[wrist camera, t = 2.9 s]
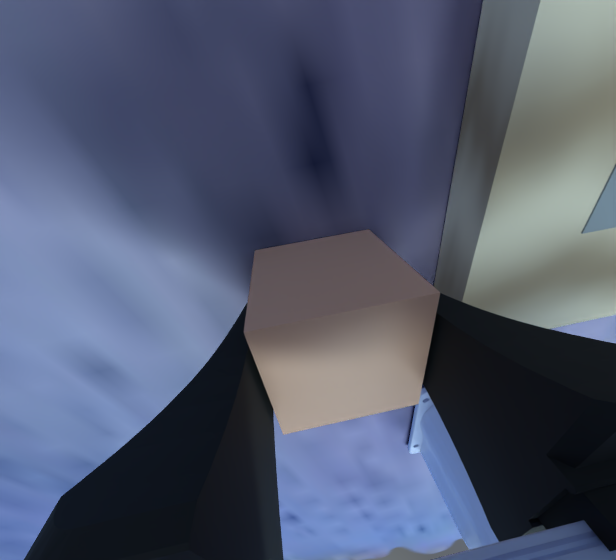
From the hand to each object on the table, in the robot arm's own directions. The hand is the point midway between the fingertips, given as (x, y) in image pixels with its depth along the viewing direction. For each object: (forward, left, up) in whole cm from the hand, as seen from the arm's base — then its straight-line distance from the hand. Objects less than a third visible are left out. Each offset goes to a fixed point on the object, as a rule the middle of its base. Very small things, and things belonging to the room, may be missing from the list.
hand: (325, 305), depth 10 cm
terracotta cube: (0, 0, -1) cm, 1 cm away
